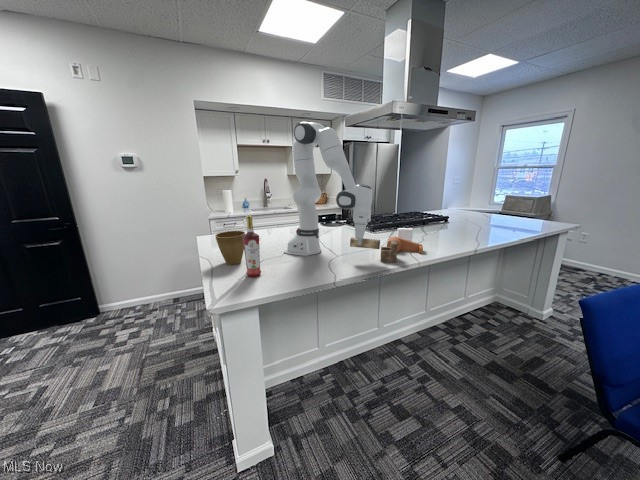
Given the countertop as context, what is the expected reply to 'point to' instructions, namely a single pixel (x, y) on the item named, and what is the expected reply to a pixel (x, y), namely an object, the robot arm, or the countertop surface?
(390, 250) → the wooden u-shaped bracket
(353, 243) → the rail
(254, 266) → the liquor
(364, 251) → the countertop surface
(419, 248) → the crank
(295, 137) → the robot arm
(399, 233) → the white piece
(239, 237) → the plant pot
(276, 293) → the countertop surface
